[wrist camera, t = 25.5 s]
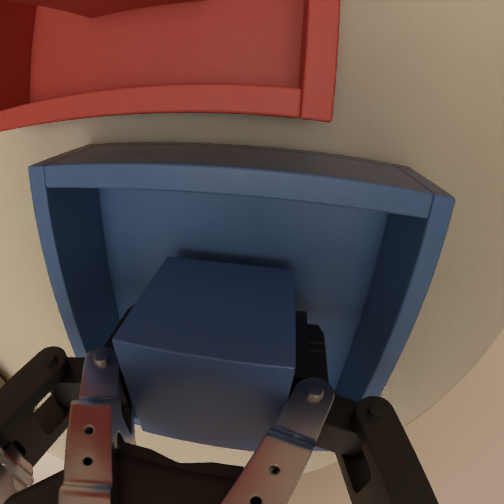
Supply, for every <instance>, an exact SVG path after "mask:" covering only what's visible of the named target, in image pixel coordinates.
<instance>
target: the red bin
mask: <svg viewBox="0 0 504 504" xmlns="http://www.w3.org/2000/svg"><path fill="white" fill-rule="evenodd" d="M339 19H340V0H205V1H192V2H180V3H171V4H163V5H155V6H149V7H142V8H136V9H131V10H126V11H121V12H116V13H111V14H107V15H102V16H98V17H94V18H89V17H85V16H81V15H77V14H74V13H70V12H66V11H61V10H57V9H53V8H48V7H43V6H38V5H33V4H28V3H22V2H16V1H10V0H0V132H1V131H6V130H11V129H16V128H21V127H26V126H32V125H38V124H44V123H51V122H57V121H65V120H73V119H81V118H90V117H101V116H112V115H127V114H146V113H231V114H251V115H265V116H278V117H289V118H299V117H300V118H302V119H307V120H315V121H323V122H331V121H332V115H333V105H334V94H335V82H336V69H337V55H338V39H339Z"/></svg>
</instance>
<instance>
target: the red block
mask: <svg viewBox="0 0 504 504" xmlns="http://www.w3.org/2000/svg"><path fill="white" fill-rule="evenodd" d="M10 1H16V2H22V3H28V4H33V5H38V6H43V7H48V8H53V9H57V10H61V11H66V12H70V13H74V14H77V15H81V16H85V17H89V18H94V17H98V16H102V15H107V14H111V13H116V12H121V11H126V10H131V9H136V8H142V7H149V6H155V5H163V4H171V3H180V2H192V1H205V0H10Z"/></svg>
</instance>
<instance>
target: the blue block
mask: <svg viewBox="0 0 504 504" xmlns="http://www.w3.org/2000/svg"><path fill="white" fill-rule="evenodd" d="M112 342H113V345H114V349H115V352H116V355H117V359H118V362H119V365H120V368H121V371H122V375H123V378H124V381H125V384H126V387H127V390H128V392H129V395H130V398H131V401H132V404H133V406H134V409H135V412H136V414H137V417H138V420H139V422H140V425H141V427H142V430H143V431H146V432H149V433H153V434H157V435H162V436H166V437H170V438H175V439H180V440H184V441H189V442H195V443H200V444H206V445H212V446H218V447H224V448H231V449H239V450H247V451H255V450H256V449H257V447H258V446H259V444H260V442H261V441H262V439H263V437H264V436H265V434H266V432H267V431H268V430H269V429H270V428H272V427H273V426H274V424H275V423H276V421H277V419H278V417H279V415H280V414H281V412H282V410H283V408H284V406H285V405H286V403H287V401H288V397H289V393H290V389H291V385H292V381H293V377H294V372H295V368H296V324H295V271H294V270H290V269H280V268H270V267H261V266H251V265H242V264H232V263H223V262H214V261H205V260H196V259H187V258H178V257H169V256H168V257H167V258H166V259H165V260H164V262H163V263H162V265H161V266H160V268H159V269H158V270H157V272H156V273H155V275H154V276H153V278H152V279H151V281H150V282H149V284H148V285H147V287H146V288H145V290H144V291H143V293H142V294H141V296H140V297H139V299H138V300H137V302H136V303H135V305H134V306H133V308H132V309H131V311H130V312H129V314H128V315H127V317H126V318H125V320H124V322H123V323H122V325H121V326H120V328H119V329H118V331H117V332H116V334H115V336H114V337H113V339H112Z"/></svg>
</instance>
